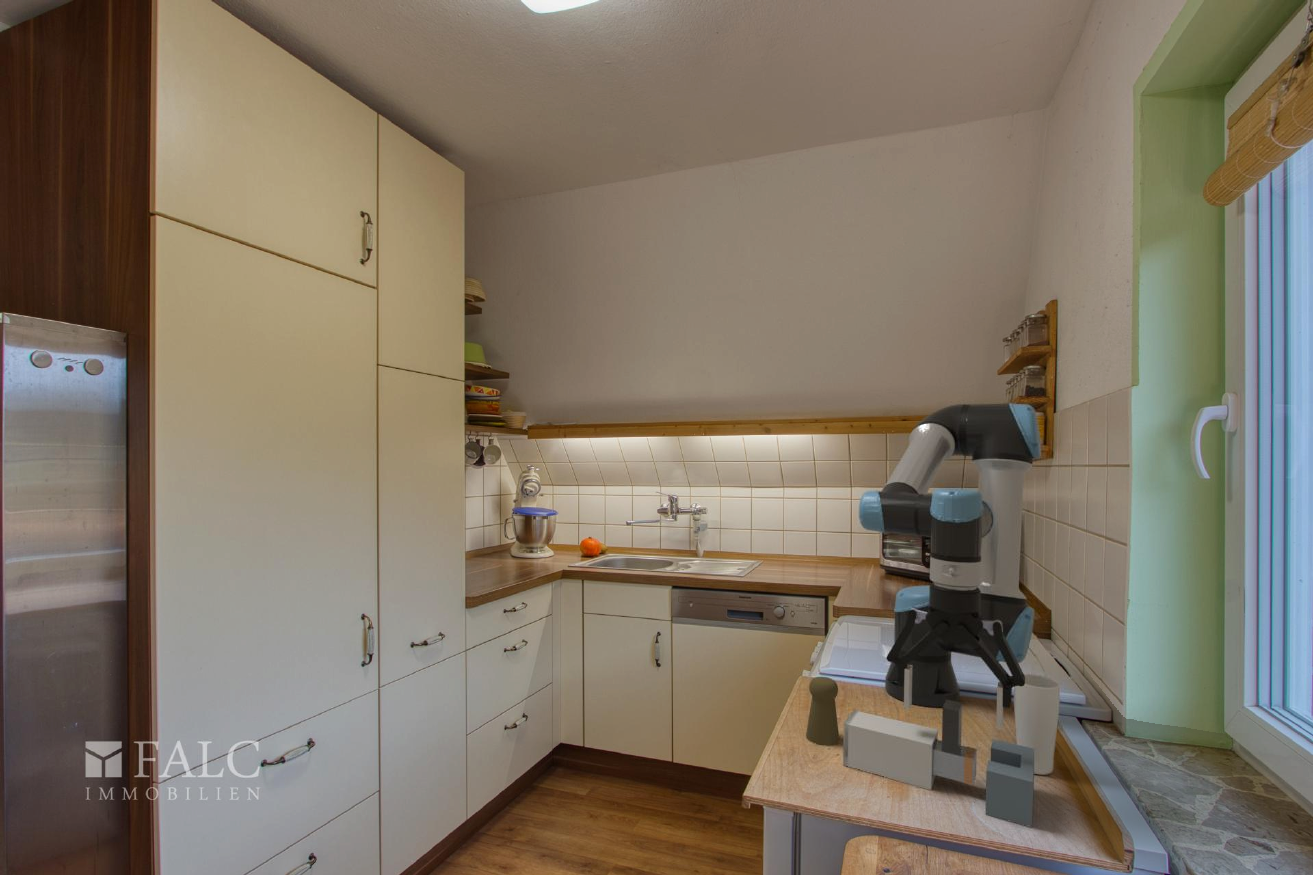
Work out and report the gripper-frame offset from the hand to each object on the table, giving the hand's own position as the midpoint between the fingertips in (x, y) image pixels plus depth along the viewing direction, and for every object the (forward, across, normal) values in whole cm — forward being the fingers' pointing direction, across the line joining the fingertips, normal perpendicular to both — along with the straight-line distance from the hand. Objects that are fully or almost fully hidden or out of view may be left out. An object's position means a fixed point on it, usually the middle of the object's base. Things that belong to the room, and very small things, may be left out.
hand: (952, 716), depth 106 cm
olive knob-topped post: (+11, -22, +5) cm, 26 cm away
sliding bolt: (+9, -5, 0) cm, 11 cm away
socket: (+11, +8, 0) cm, 13 cm away
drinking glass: (+11, +12, +14) cm, 21 cm away
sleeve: (+11, -10, 0) cm, 15 cm away
